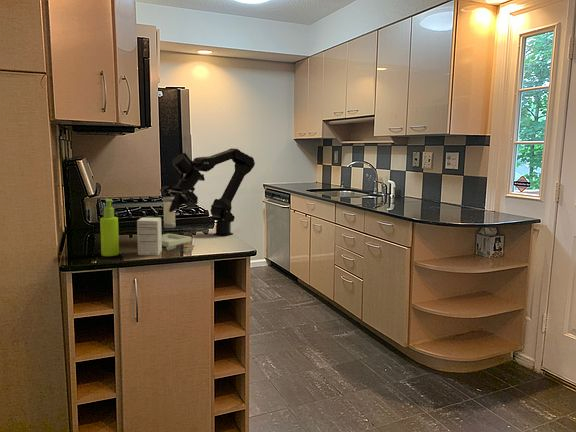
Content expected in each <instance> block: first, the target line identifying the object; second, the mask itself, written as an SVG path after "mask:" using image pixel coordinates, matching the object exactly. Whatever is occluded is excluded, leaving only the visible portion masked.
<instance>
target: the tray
mask: <svg viewBox="0 0 576 432" xmlns="http://www.w3.org/2000/svg"><path fill="white" fill-rule="evenodd" d="M161 236H162V247H166V248H167V247H169V246H172V245H176V247H177V246H181V245H185V244H189V243H192V239H193V237H192V236H186V235H180V234H176V233H175V234H174V233H165V234H161Z"/></svg>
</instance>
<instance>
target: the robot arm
mask: <svg viewBox="0 0 576 432" xmlns="http://www.w3.org/2000/svg"><path fill="white" fill-rule="evenodd" d="M230 160H231V161H232V162H233V163H234V171H233V174H232V176H231V177H230V180H229V181H228V183H227V185H226V187H225V189H224V191H223V194H222V196H221V197H220V198H219V199H217V198H215V199H213V202H212V204H211V205H210V207H211V208H210V214H211V216H212V220H213V221H216V223H215V232H213V235H215V236H216V235H217V236H221V237H226V236H227V237H228V236H231V235H233V234H234V232H231V228H232V227H231V225H232V222H234V221H235V216H234V214H233V213H232V212H231V211H232V202H233V200H234V198H235V196H236V194H237V192H238V189H239V188H240V186H241V185H242V182H243V180H244V178H245V176H246V175H247V174H249V173H251V171H252V170H253V169H254V168H255V164H256V163H255V160H254V157H253V156H251V155H248V154H247V153H245V152H243V151H241V150H240V149H239V148H234V147H233V148H231V147H230V148H229V149H226V150H224V151H221V152H217V153H216V154H212V155H209V156H199V157H195V158H193V160H191V158H190V157H189V156H188V154H187V153H186V152H182V153H180V154H178V155H177V156H175V157H174V158H173V159H172V161H171V164H172V165H173V167H174V168H175V169H176V170H177V171H178V172H179V173H180V175H182V174H183V177H182V178H178V183H177V185H173V186H172V188H171V187H169V186H161V188H160V189H159V192H160V193H161V194H162V195H163V197H168V196H171V197H174V200H173V202H172V204H171V206H170V209H169V211H170V212H172V211H174V210H175V211H176V210H177V209H178V208H179V207H181V206H183V205H185V207H189V208H193V207H195V206H196V205H197V204H198V203H199V202H198V201H199V200H198V198H199V197H198V196H197V195H196V194H195V189H196V187H195V186H196V184H197V183H198V182H199V181H201V182H202V181H203V182H204V181H205V175H204V174H203V173H204V172H205V173H207V172H209V171H211V170H213V169H214V168H215V167H216V166H217V165H219V164H222V163H224V162H228V161H230ZM201 172H203V173H201ZM161 207H162V208H161V210H162V211H163V212H164V208H163V205H162V206H161Z"/></svg>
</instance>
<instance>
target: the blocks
mask: <svg viewBox="0 0 576 432" xmlns="http://www.w3.org/2000/svg"><path fill="white" fill-rule="evenodd" d="M195 246H196V245H193V244H186V245H184V246H183V247H184V249H183V252H184V253H189V252H191V251H193V250H194V247H195ZM174 249H177V246H176V245H172V246H169V247H166V251H171V250H174Z"/></svg>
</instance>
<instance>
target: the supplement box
mask: <svg viewBox="0 0 576 432" xmlns="http://www.w3.org/2000/svg"><path fill="white" fill-rule="evenodd" d="M136 232H137V233H136V236H137V242H136V243H137V256H159V255H160V253H161V252H162V251H163V248H162V247H163V246H162V236H161V235H162V217H140V218H139V219H137V220H136Z"/></svg>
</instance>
